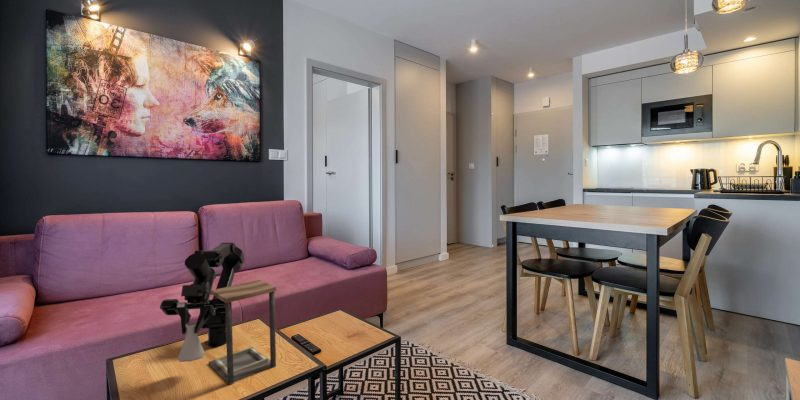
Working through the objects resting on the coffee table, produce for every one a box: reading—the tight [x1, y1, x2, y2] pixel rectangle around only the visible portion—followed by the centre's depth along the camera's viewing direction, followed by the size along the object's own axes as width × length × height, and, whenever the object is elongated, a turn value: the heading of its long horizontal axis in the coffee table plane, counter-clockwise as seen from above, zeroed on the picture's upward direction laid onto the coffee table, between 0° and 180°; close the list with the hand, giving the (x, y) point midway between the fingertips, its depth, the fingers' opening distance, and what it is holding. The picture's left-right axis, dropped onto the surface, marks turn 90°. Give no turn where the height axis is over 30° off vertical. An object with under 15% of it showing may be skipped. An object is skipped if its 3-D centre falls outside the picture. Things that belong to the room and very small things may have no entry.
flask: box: [177, 321, 206, 363], centre depth 108 cm, size 7×7×10 cm
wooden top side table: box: [208, 279, 277, 386], centre depth 114 cm, size 17×15×25 cm
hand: (189, 333), depth 107 cm, fingers closed on flask, 3 cm apart
